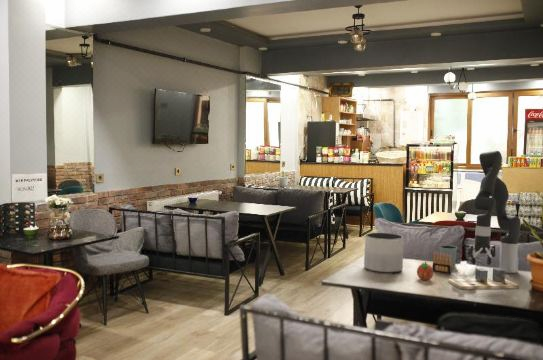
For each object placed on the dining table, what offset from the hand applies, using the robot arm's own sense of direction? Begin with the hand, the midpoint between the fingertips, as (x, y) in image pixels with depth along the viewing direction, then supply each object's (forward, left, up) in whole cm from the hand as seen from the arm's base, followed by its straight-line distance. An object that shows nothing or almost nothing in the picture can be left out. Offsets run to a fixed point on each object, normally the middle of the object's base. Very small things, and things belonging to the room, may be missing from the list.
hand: (481, 264), depth 278 cm
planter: (+42, -34, -11) cm, 55 cm away
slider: (0, +2, -9) cm, 9 cm away
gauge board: (0, +2, -11) cm, 11 cm away
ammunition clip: (+10, -25, -11) cm, 29 cm away
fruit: (+27, -10, -11) cm, 30 cm away
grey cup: (-1, -40, -11) cm, 41 cm away
